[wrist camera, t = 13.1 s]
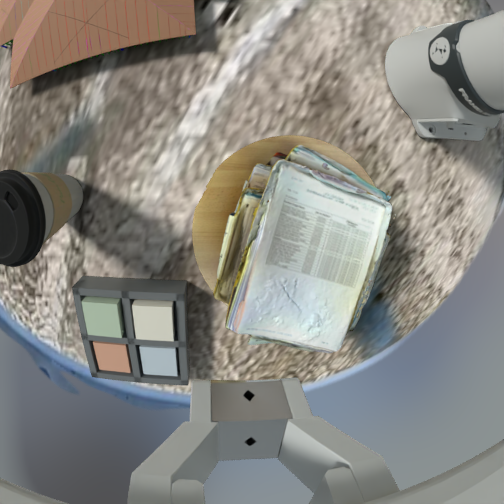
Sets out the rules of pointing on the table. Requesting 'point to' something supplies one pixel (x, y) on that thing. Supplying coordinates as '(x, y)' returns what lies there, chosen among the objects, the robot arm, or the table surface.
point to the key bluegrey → (159, 360)
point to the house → (84, 29)
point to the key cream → (154, 319)
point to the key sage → (103, 316)
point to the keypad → (128, 293)
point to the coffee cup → (33, 212)
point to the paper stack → (291, 241)
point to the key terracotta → (113, 356)
